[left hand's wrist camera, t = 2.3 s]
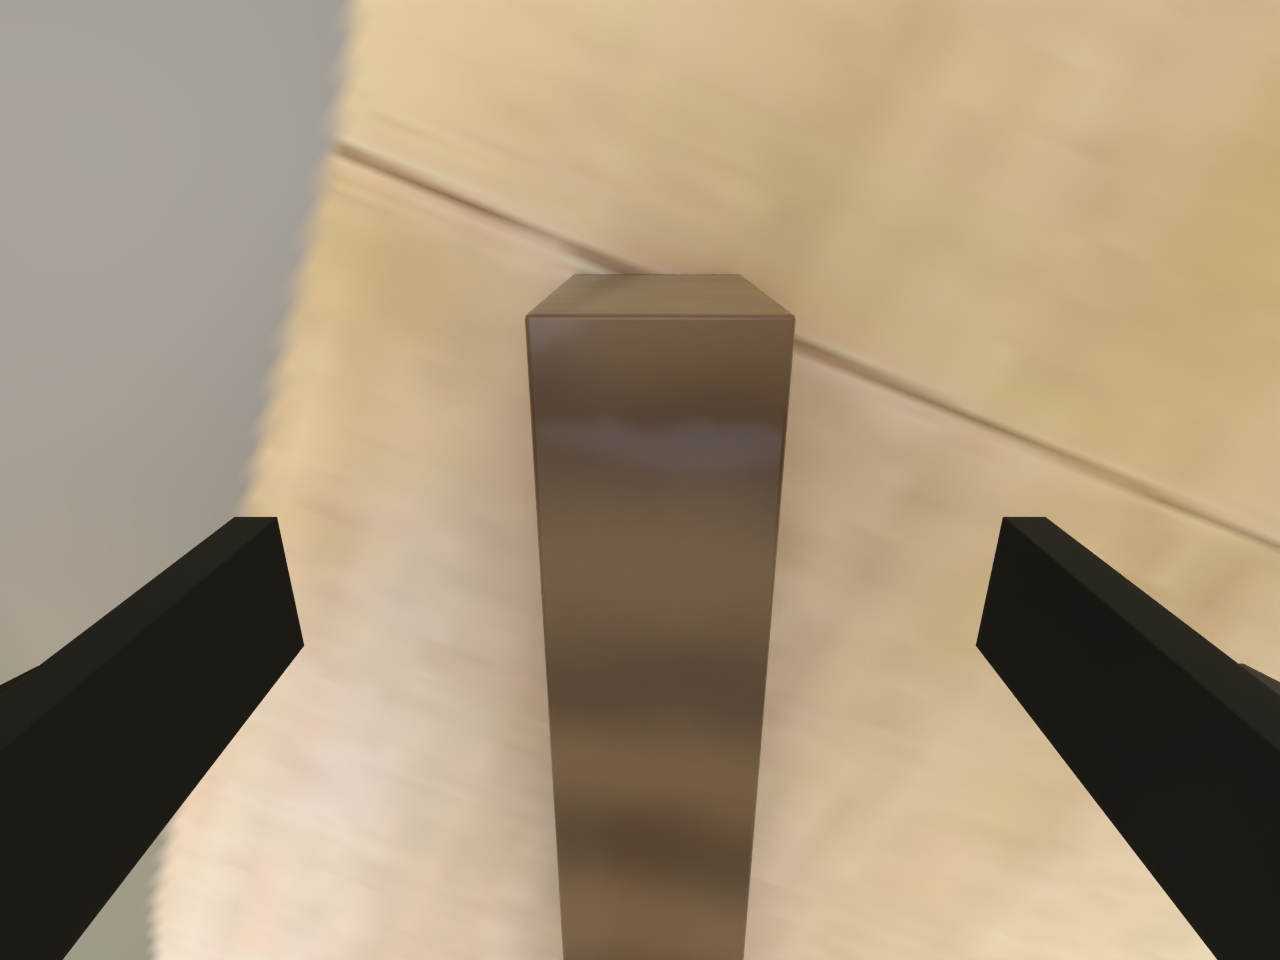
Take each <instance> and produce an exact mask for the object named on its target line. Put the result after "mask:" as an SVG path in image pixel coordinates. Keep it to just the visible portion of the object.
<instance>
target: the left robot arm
mask: <svg viewBox="0 0 1280 960" xmlns="http://www.w3.org/2000/svg"><path fill="white" fill-rule="evenodd" d="M303 646H304V643H303V638H302V633H301V628H300V624H299V619H298V614H297V609H296V605H295V600H294V595H293V591H292V586H291V581H290V576H289V572H288V567H287V562H286V557H285V553H284V548H283V543H282V538H281V534H280V529H279V524H278V520H277V517H234V518H233V519H231V520H230V521H229V522H227V523H226V524H225V525H223V526H222V527H221V528H220V529H218V530H217V531H216V532H214V533H213V534H212V535H210V536H209V537H208V538H206V539H205V540H204V541H202V542H201V543H200V544H198V545H197V546H196V547H195V548H193V549H192V550H191V551H189V552H188V553H187V554H185V555H184V556H183V557H181V558H180V559H179V560H178V561H176V562H175V563H173V564H172V565H171V566H170V567H168V568H167V569H166V570H164V571H163V572H162V573H160V574H159V575H158V576H156V577H155V578H154V579H152V580H151V581H150V582H149V583H147V584H146V585H145V586H143V587H142V588H141V589H139V590H138V591H137V592H135V593H134V594H133V595H131V596H130V597H129V598H128V599H126V600H125V601H124V602H122V603H121V604H120V605H118V606H117V607H116V608H114V609H113V610H112V611H110V612H109V613H108V614H106V615H105V616H104V617H103V618H101V619H100V620H99V621H97V622H96V623H95V624H93V625H92V626H91V627H89V628H88V629H87V630H85V631H84V632H83V633H82V634H80V635H79V636H78V637H76V638H75V639H74V640H72V641H71V642H70V643H68V644H67V645H66V646H64V647H63V648H62V649H60V650H59V651H58V652H57V653H55V654H54V655H53V656H51V657H50V658H49V659H47V660H46V661H45V662H43V663H42V664H41V665H39V666H37V667H35V668H33V669H31V670H29V671H27V672H25V673H23V674H21V675H19V676H17V677H15V678H13V679H12V680H10V681H8V682H6V683H4V684H2V685H0V960H63V959H64V957H65V956H66V955H67V953H68V952H69V951H70V949H71V948H72V947H73V946H74V944H75V943H76V942H77V940H78V939H79V938H80V936H81V935H82V934H83V932H84V931H85V930H86V929H87V927H88V926H89V925H90V923H91V922H92V921H93V919H94V918H95V917H96V916H97V914H98V913H99V912H100V910H101V909H102V908H103V907H104V905H105V904H106V903H107V901H108V900H109V899H110V897H111V896H112V895H113V894H114V892H115V891H116V890H117V888H118V887H119V886H120V884H121V883H122V882H123V881H124V879H125V878H126V877H127V875H128V874H129V873H130V871H131V870H132V869H133V868H134V866H135V865H136V864H137V862H138V861H139V860H140V858H141V857H142V856H143V854H144V853H145V852H146V851H147V849H148V848H149V847H150V845H151V844H152V843H153V842H154V840H155V839H156V838H157V836H158V835H159V834H160V832H161V831H162V830H163V829H164V827H165V826H166V825H167V823H168V822H169V821H170V819H171V818H172V817H173V816H174V814H175V813H176V812H177V810H178V809H179V808H180V806H181V805H182V804H183V802H184V801H185V800H186V799H187V797H188V796H189V795H190V793H191V792H192V791H193V789H194V788H195V787H196V786H197V784H198V783H199V782H200V780H201V779H202V778H203V776H204V775H205V774H206V773H207V771H208V770H209V769H210V767H211V766H212V765H213V763H214V762H215V761H216V760H217V758H218V757H219V756H220V754H221V753H222V752H223V750H224V749H225V748H226V747H227V745H228V744H229V743H230V741H231V740H232V739H233V737H234V736H235V735H236V734H237V732H238V731H239V730H240V728H241V727H242V726H243V724H244V723H245V722H246V721H247V719H248V718H249V717H250V715H251V714H252V713H253V711H254V710H255V709H256V708H257V706H258V705H259V704H260V702H261V701H262V700H263V698H264V697H265V696H266V695H267V693H268V692H269V691H270V689H271V688H272V687H273V685H274V684H275V683H276V682H277V680H278V679H279V678H280V676H281V675H282V674H283V672H284V671H285V670H286V669H287V667H288V666H289V665H290V663H291V662H292V661H293V659H294V658H295V657H296V656H297V654H298V653H299V652H300V650H301V649H302V648H303ZM976 646H977V648H978V649H979V650H980V652H981V653H982V654H983V656H984V657H985V658H986V659H987V661H988V662H989V663H990V665H991V666H992V667H993V669H994V670H995V671H996V672H997V674H998V675H999V676H1000V678H1001V679H1002V680H1003V682H1004V683H1005V684H1006V685H1007V687H1008V688H1009V689H1010V691H1011V692H1012V693H1013V695H1014V696H1015V697H1016V698H1017V700H1018V701H1019V702H1020V704H1021V705H1022V706H1023V708H1024V709H1025V710H1026V711H1027V713H1028V714H1029V715H1030V717H1031V718H1032V719H1033V721H1034V722H1035V723H1036V724H1037V726H1038V727H1039V728H1040V730H1041V731H1042V732H1043V734H1044V735H1045V736H1046V737H1047V739H1048V740H1049V741H1050V743H1051V744H1052V745H1053V747H1054V748H1055V749H1056V750H1057V752H1058V753H1059V754H1060V756H1061V757H1062V758H1063V760H1064V761H1065V762H1066V763H1067V765H1068V766H1069V767H1070V769H1071V770H1072V771H1073V773H1074V774H1075V775H1076V776H1077V778H1078V779H1079V780H1080V782H1081V783H1082V784H1083V786H1084V787H1085V788H1086V789H1087V791H1088V792H1089V793H1090V795H1091V796H1092V797H1093V799H1094V800H1095V801H1096V802H1097V804H1098V805H1099V806H1100V808H1101V809H1102V810H1103V812H1104V813H1105V814H1106V816H1107V817H1108V818H1109V819H1110V821H1111V822H1112V823H1113V825H1114V826H1115V827H1116V829H1117V830H1118V831H1119V832H1120V834H1121V835H1122V836H1123V838H1124V839H1125V840H1126V842H1127V843H1128V844H1129V845H1130V847H1131V848H1132V849H1133V851H1134V852H1135V853H1136V855H1137V856H1138V857H1139V858H1140V860H1141V861H1142V862H1143V864H1144V865H1145V866H1146V868H1147V869H1148V870H1149V871H1150V873H1151V874H1152V875H1153V877H1154V878H1155V879H1156V881H1157V882H1158V883H1159V884H1160V886H1161V887H1162V888H1163V890H1164V891H1165V892H1166V894H1167V895H1168V896H1169V897H1170V899H1171V900H1172V901H1173V903H1174V904H1175V905H1176V907H1177V908H1178V909H1179V910H1180V912H1181V913H1182V914H1183V916H1184V917H1185V918H1186V920H1187V921H1188V922H1189V923H1190V925H1191V926H1192V927H1193V929H1194V930H1195V931H1196V933H1197V934H1198V935H1199V936H1200V938H1201V939H1202V940H1203V942H1204V943H1205V944H1206V946H1207V947H1208V948H1209V949H1210V951H1211V952H1212V953H1213V955H1214V956H1215V957H1216V959H1217V960H1280V682H1278V681H1276V680H1274V679H1272V678H1271V677H1269V676H1267V675H1265V674H1263V673H1261V672H1259V671H1257V670H1255V669H1253V668H1251V667H1249V666H1247V665H1245V664H1238V663H1237V662H1235V661H1234V660H1233V659H1231V658H1230V657H1229V656H1227V655H1226V654H1225V653H1224V652H1222V651H1221V650H1220V649H1218V648H1217V647H1216V646H1214V645H1213V644H1212V643H1210V642H1209V641H1208V640H1206V639H1205V638H1204V637H1202V636H1201V635H1200V634H1199V633H1197V632H1196V631H1195V630H1193V629H1192V628H1191V627H1189V626H1188V625H1187V624H1185V623H1184V622H1183V621H1181V620H1180V619H1179V618H1177V617H1176V616H1175V615H1174V614H1172V613H1171V612H1170V611H1168V610H1167V609H1166V608H1164V607H1163V606H1162V605H1160V604H1159V603H1158V602H1156V601H1155V600H1154V599H1153V598H1151V597H1150V596H1149V595H1147V594H1146V593H1145V592H1143V591H1142V590H1141V589H1139V588H1138V587H1137V586H1135V585H1134V584H1133V583H1131V582H1130V581H1129V580H1128V579H1126V578H1125V577H1124V576H1122V575H1121V574H1120V573H1118V572H1117V571H1116V570H1114V569H1113V568H1112V567H1110V566H1109V565H1108V564H1107V563H1105V562H1104V561H1103V560H1101V559H1100V558H1099V557H1097V556H1096V555H1095V554H1093V553H1092V552H1091V551H1089V550H1088V549H1087V548H1085V547H1084V546H1083V545H1082V544H1080V543H1079V542H1078V541H1076V540H1075V539H1074V538H1072V537H1071V536H1070V535H1068V534H1067V533H1066V532H1064V531H1063V530H1062V529H1060V528H1059V527H1058V526H1057V525H1055V524H1054V523H1053V522H1051V521H1050V520H1049V519H1047V518H1046V517H1003V520H1002V524H1001V529H1000V534H999V538H998V543H997V548H996V553H995V557H994V562H993V567H992V572H991V576H990V581H989V586H988V591H987V595H986V600H985V605H984V609H983V614H982V619H981V624H980V628H979V633H978V638H977V643H976Z"/></svg>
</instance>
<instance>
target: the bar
mask: <svg viewBox="0 0 1280 960" xmlns="http://www.w3.org/2000/svg"><path fill="white" fill-rule="evenodd" d="M525 326H526V342H527V359H528V376H529V392H530V409H531V426H532V442H533V459H534V476H535V492H536V509H537V526H538V542H539V559H540V576H541V592H542V609H543V626H544V642H545V659H546V676H547V692H548V709H549V726H550V742H551V759H552V776H553V792H554V809H555V826H556V842H557V859H558V876H559V892H560V909H561V926H562V942H563V959H564V960H743V959H744V947H745V934H746V922H747V910H748V897H749V885H750V873H751V860H752V848H753V836H754V823H755V811H756V799H757V787H758V774H759V762H760V750H761V737H762V725H763V713H764V700H765V688H766V676H767V664H768V651H769V639H770V627H771V614H772V602H773V590H774V577H775V565H776V553H777V541H778V528H779V516H780V504H781V491H782V479H783V467H784V454H785V442H786V430H787V417H788V405H789V393H790V381H791V368H792V356H793V344H794V331H795V317H794V315H793V314H791V313H790V312H789V311H787V310H786V309H785V308H783V307H782V306H781V305H779V304H778V303H777V302H775V301H774V300H773V299H771V298H770V297H769V296H767V295H766V294H765V293H764V292H762V291H761V290H760V289H758V288H757V287H756V286H754V285H753V284H752V283H750V282H749V281H748V280H746V279H745V278H744V277H742V276H741V275H632V274H575V275H573V276H572V277H571V278H569V279H568V280H567V281H566V282H565V283H563V284H562V285H561V286H560V287H559V288H558V289H556V290H555V291H554V292H553V293H552V294H551V295H549V296H548V297H547V298H546V299H545V300H543V301H542V302H541V303H540V304H539V305H538V306H536V307H535V308H534V309H533V310H532V311H531V312H529V313H528V314H527V315H526V318H525Z"/></svg>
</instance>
